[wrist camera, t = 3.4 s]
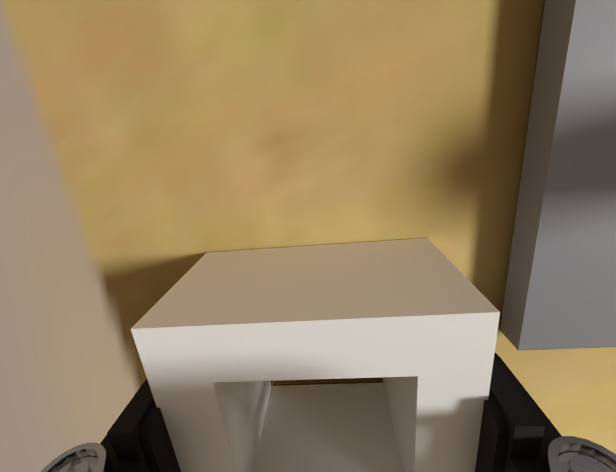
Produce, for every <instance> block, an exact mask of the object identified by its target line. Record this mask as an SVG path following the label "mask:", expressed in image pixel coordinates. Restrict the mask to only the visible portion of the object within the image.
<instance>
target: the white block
mask: <svg viewBox="0 0 616 472" xmlns="http://www.w3.org/2000/svg"><path fill="white" fill-rule="evenodd" d="M499 316H500V312H499V311H498V309H497V308H496V307H495V306H494V305H493V304H492V303H491V302H490V301H489V300H488V299H487V298H486V297H485V296H484V295H483V294H482V293H481V292H480V291H479V290H478V289H477V288H476V287H475V286H474V285H473V284H472V283H471V282H470V281H469V280H468V279H467V278H466V277H465V276H464V275H463V274H462V273H461V272H460V271H459V270H458V269H457V268H456V267H455V266H454V265H453V264H452V263H451V262H450V261H449V260H448V259H447V258H446V257H445V256H444V254H443V253H442V252H441V251H440V250H439V249H438V248H437V247H436V246H435V245H434V244H433V243H432V242H431V241H430V240H429V239H428V238H420V239H405V240H390V241H375V242H359V243H344V244H329V245H314V246H299V247H284V248H268V249H253V250H238V251H223V252H208V253H206V254H205V255H204V256H203V257H202V258H201V259H200V260H199V261H198V262H197V263H196V264H195V265H194V266H193V267H192V268H191V269H190V270H189V271H188V272H187V273H186V274H185V275H184V276H183V277H182V278H181V279H180V280H179V281H178V282H177V283H176V284H175V285H174V286H173V287H172V288H171V289H170V290H169V291H168V292H167V293H166V294H165V295H164V296H163V297H162V298H161V299H160V300H159V301H158V302H157V303H156V304H155V305H154V306H153V307H152V308H151V309H150V310H149V311H148V312H147V313H146V314H145V315H144V316H143V317H142V318H141V319H140V320H139V321H138V322H137V323H136V324H135V325H134V326H133V327H132V328H131V332H132V335H133V338H134V341H135V344H136V347H137V350H138V353H139V356H140V359H141V362H142V365H143V368H144V371H145V374H146V377H147V380H148V383H149V386H150V389H151V392H152V395H153V398H154V401H155V404H156V407H157V408H160V409H161V412H162V415H163V418H164V421H165V424H166V427H167V430H168V433H169V436H170V439H171V442H172V445H173V448H174V451H175V455H176V458H177V461H178V464H179V467H180V470H181V472H475V467H476V459H477V451H478V444H479V436H480V428H481V420H482V413H483V405H484V400H488V397H489V390H490V383H491V375H492V368H493V361H494V353H495V346H496V338H497V331H498V324H499ZM377 377H383V383H354V384H318V385H283V386H271V381H276V380H310V379H344V378H377Z"/></svg>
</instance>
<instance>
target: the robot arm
mask: <svg viewBox="0 0 616 472" xmlns="http://www.w3.org/2000/svg"><path fill="white" fill-rule="evenodd" d="M41 472H181V470H180V467H179V464H178V461H177V458H176V455H175V451H174V448H173V445H172V442H171V439H170V436H169V433H168V430H167V427H166V424H165V421H164V418H163V415H162V412H161V409H160V408H157V407H156V404H155V401H154V398H153V395H152V392H151V389H150V386H149V383H148V380H147V379H146V380H145V382H144V383H143V384H142V386H141V387H140V389H139V390H138V391H137V393H136V394H135V395H134V397H133V398H132V400H131V401H130V403H129V404H128V405H127V406H126V408H125V409H124V411H123V412H122V413H121V415H120V416H119V417H118V419H117V420H116V422H115V423H114V424H113V426H112V427H111V428H110V430H109V431H108V432H107V435H106V437H105V438H104V439H103V441H102V442H101V443H100V444H98V443H85V444H82V445H78V446H76V447H74V448H72V449H70V450H68V451H66V452H64V453H63V454H61V455H60V456H58V457H57V458H55V459H54V460H53V461H52V462H50V464H48V465H47V466H46V467H45V468H44V469H43V470H42V471H41ZM475 472H616V454H614V453H613V452H611V451H609V450H608V449H606V448H604V447H603V446H601V445H598V444H596V443H594V442H591V441H589V440H586V439H582V438H578V437H573V436H561V434H560V433H559V432H558V431H557V429H556V428H555V427H554V426H553V424H552V423H551V422H550V420H549V419H548V418H547V417H546V415H545V414H544V413H543V412H542V410H541V409H540V408H539V406H538V405H537V404H536V403H535V401H534V400H533V399H532V398H531V396H530V395H529V394H528V392H527V391H526V390H525V389H524V387H523V386H522V385H521V383H520V382H519V381H518V380H517V378H516V377H515V376H514V375H513V373H512V372H511V371H510V369H509V368H508V367H507V366H506V364H505V363H504V362H503V361H502V359H501V358H500V357H499V356H498V355H497V354H496V353H494V361H493V368H492V375H491V383H490V390H489V397H488V400H484V405H483V413H482V420H481V428H480V436H479V444H478V451H477V459H476V467H475Z"/></svg>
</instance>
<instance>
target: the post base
mask: <svg viewBox="0 0 616 472" xmlns="http://www.w3.org/2000/svg"><path fill="white" fill-rule="evenodd" d="M500 331H501V332H502V333H503V334H504V335H505V336H506V337H507V338H508V340H509V341H510V342H511V343H512V344H513V345H514V346H515V347H516V348H517V350H544V349H572V348H599V347H616V0H545V5H544V12H543V20H542V27H541V34H540V42H539V49H538V56H537V63H536V71H535V78H534V85H533V93H532V100H531V107H530V114H529V122H528V129H527V136H526V144H525V151H524V158H523V166H522V173H521V180H520V187H519V195H518V202H517V209H516V217H515V224H514V231H513V238H512V246H511V253H510V260H509V268H508V275H507V282H506V290H505V297H504V304H503V311H502V319H501V326H500Z"/></svg>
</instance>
